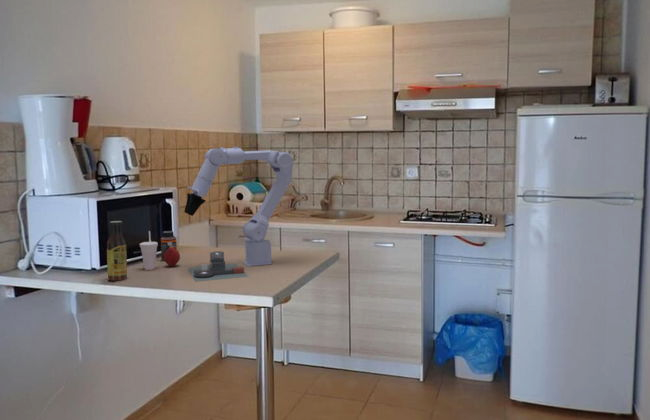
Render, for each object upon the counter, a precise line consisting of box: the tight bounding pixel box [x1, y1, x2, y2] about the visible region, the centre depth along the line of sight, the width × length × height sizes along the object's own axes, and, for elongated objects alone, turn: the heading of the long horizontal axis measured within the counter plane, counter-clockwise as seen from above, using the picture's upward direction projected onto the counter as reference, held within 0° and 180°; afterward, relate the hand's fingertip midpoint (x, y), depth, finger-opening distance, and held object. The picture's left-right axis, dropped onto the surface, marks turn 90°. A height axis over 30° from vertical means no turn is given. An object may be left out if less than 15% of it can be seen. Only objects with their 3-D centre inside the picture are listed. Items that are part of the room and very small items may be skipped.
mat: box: [187, 263, 249, 282], centre depth 201 cm, size 18×22×1 cm
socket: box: [209, 250, 226, 270], centre depth 206 cm, size 5×5×6 cm
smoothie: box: [139, 230, 159, 271], centre depth 207 cm, size 6×6×14 cm
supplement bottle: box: [160, 230, 178, 262], centre depth 223 cm, size 6×6×11 cm
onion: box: [163, 246, 181, 267], centre depth 211 cm, size 6×6×8 cm
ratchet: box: [194, 263, 245, 278], centre depth 197 cm, size 17×7×4 cm, turn 110°
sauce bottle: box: [106, 220, 128, 282], centre depth 192 cm, size 7×6×20 cm
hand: (188, 214), depth 202 cm, fingers open, 7 cm apart
